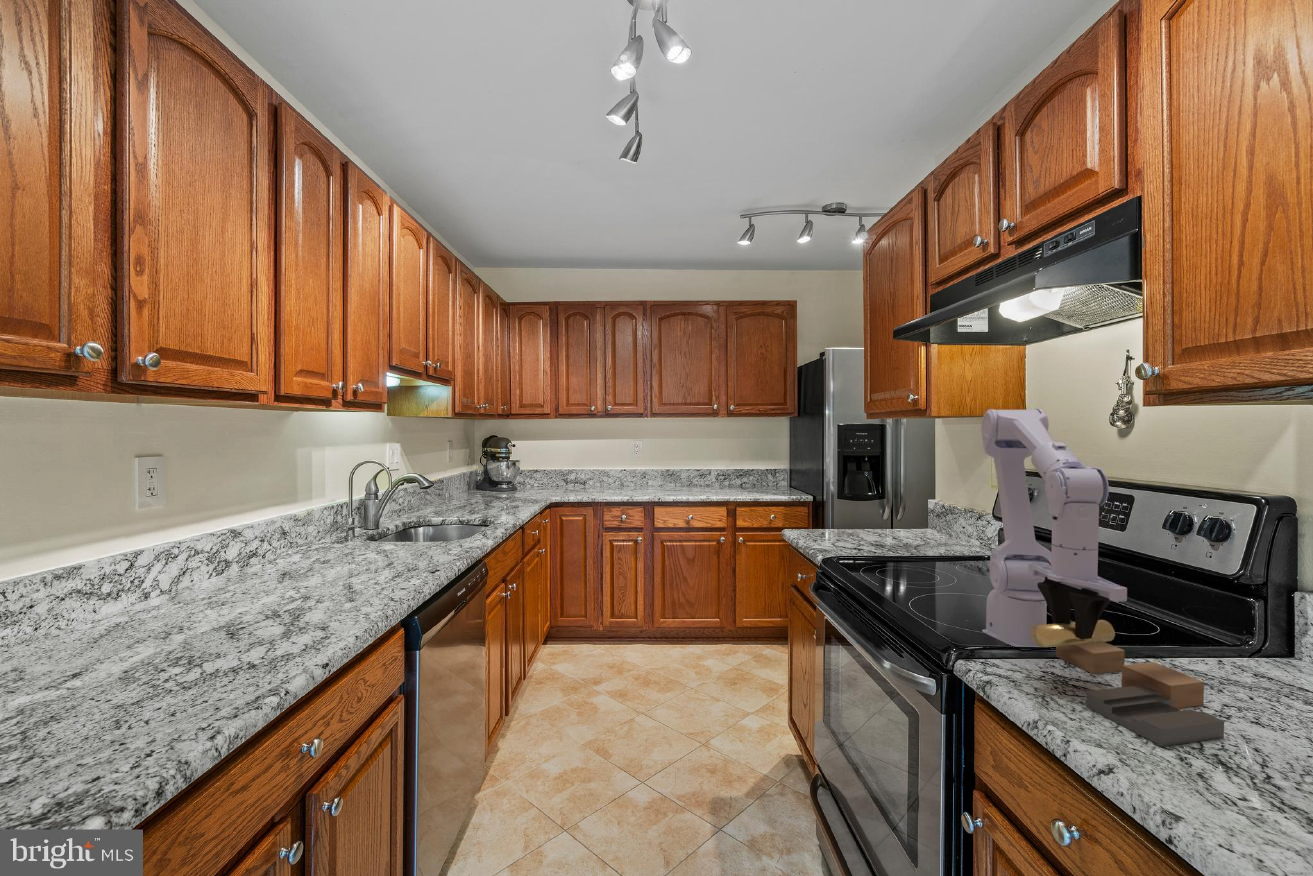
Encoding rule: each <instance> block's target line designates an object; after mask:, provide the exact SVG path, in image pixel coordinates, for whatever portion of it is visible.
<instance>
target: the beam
mask: <svg viewBox="0 0 1313 876" xmlns="http://www.w3.org/2000/svg"><path fill="white" fill-rule="evenodd" d="M1055 652H1056V653H1055V657H1057V658H1059V659H1061V660H1062V661H1065V662H1066V663H1069V664H1071V665H1073V666H1076V667H1078V668H1080V669H1081V670H1082V669H1083V670H1084V671H1087V672H1089V673H1091V674H1092V675H1099V674H1107V673H1116V672H1121V687H1130V686H1138V685H1144V686H1146V687H1148V688H1151V689H1153V690H1155V691H1157V692H1160V693H1161V696H1162V697H1165V698H1167V699H1169V700H1170V706H1172V707H1174V708H1176V709H1183V708H1191V707H1199V706H1204V697H1205V681H1202V680H1200V679H1198V678H1195V677H1193V676H1190V675H1188V674H1185V673H1183V672H1181V671H1178V670H1175V669H1174V668H1173V669H1172V668H1170V667H1168V666H1165V665H1163V664H1160V663H1158V662H1155V661H1149V662H1148V661H1147V662H1140V663H1139V662H1138V663H1130V664H1125V658H1126V657H1125V652H1126V651H1125V649H1123V648H1120V647H1117V646H1114V645H1113V644H1110V643H1108V642H1096V643H1085V644H1075V645H1064V646H1056V648H1055Z"/></svg>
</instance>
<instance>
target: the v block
mask: <svg viewBox="0 0 1313 876" xmlns="http://www.w3.org/2000/svg"><path fill="white" fill-rule="evenodd" d="M1085 695H1086V696H1085V697H1086V698H1085V707H1086V708H1087V709H1089V710H1092V711H1094V712H1095V713H1097V714H1099V715H1101V716H1103V717H1105V718H1107V719H1108V720H1110V721H1113V722H1114V723H1116V724H1118V725H1120V726H1122V727H1124V728H1126V729H1128V730H1129V731H1131V732H1133V733H1134V734H1137V735H1138V736H1141V737H1142V738H1144V739H1146V740H1148V741H1150V742H1152V743H1154V744H1156V745H1158V746H1160V747H1161V748H1163V747H1171V746H1177V745H1183V744H1190V743H1197V742H1205V741H1211V740H1219V739H1224V738H1225V737H1224V736H1225V720H1223V719H1220V718H1218V717H1215V716H1214V715H1211V714H1210V713H1207V712H1205V711H1202V710H1201V711H1196V710H1193V709H1186V710H1181V709H1180V708H1177V709H1176V708H1174V707H1172V706H1170V700H1169V699H1167V698H1165V697H1162V696H1161V693H1160V692H1157V691H1155V690H1153V689H1151V688H1148V687H1146V686H1144V685H1138V686H1130V687H1122V686H1121V687H1115V688H1113V687H1112V688H1106V689H1098V690H1096V689H1095V690H1090V691H1086V693H1085Z"/></svg>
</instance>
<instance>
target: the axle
mask: <svg viewBox="0 0 1313 876" xmlns="http://www.w3.org/2000/svg"><path fill="white" fill-rule="evenodd" d="M1115 636H1116V632H1115V629H1114V627H1113V625H1112V624H1111V623H1110V622H1109V621H1108V620H1105V619H1099V620H1098V622H1097V624H1096V627H1095V630H1094V632H1093V635H1092V638H1091V639H1079V638H1077V636H1076V632H1075V621H1073V622H1072V621H1070V622H1069V623H1058V624H1053V623H1048V624H1047V623H1046V625H1035V626H1033V627H1032V629H1031V637H1032V639H1033V641H1034V642H1035V644H1036V645H1038V646H1039V647H1054V646H1064V645H1075V644H1085V643H1096V642H1105V643H1108V642H1112V641H1113V640H1114V639H1115Z"/></svg>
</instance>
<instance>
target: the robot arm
mask: <svg viewBox="0 0 1313 876" xmlns="http://www.w3.org/2000/svg"><path fill="white" fill-rule="evenodd" d="M1049 425H1050V424H1049V418H1048V415H1047V413H1046V412H1045V411H1044V410H1043V409H1042V408H1035V409H994V408H993V409H992V408H990V409H989V408H988V409H987V410H986V411H985V412H984V414H983V417H982V421H981V426H980V427H981V430H980V432H981V436H982V437H981V438H982V445H983V449H984V453H985V455H987V456H990V457H991V458H993V463H994V468H995V475H996V482H997V488H998V491H997V492H998V497H999V504H1000V513H1001V518H1002V519H1001V521H1002V527H1003V528H1002V529H1003V535H1004V541H1003V542H1002V543H1001V544H999V545H998V546H996V547H995V548H994V549H992V551H991V552H990V554H989V557H990V559H989V560H990V561H989V562H990V564H989V577H990V581H991V585H992V586H993V588H994V589H991V591H990V592H989V594H988V595H987V597H986V607H985V608H986V609H985V610H986V612H985V613H986V614H985V619H986V620H985V621H986V622H985V629H982V631H981V632H982V633H984V634H985V635H988V636H989V637H992V638H994V639H996V640H998V641H1000V642H1002V643H1003V644H1006V645H1008V644H1009V645H1008V646H1010V645H1011V646H1010V647H1012V646H1038V645H1036V644H1035V642H1034V641H1033V639H1032V637H1031V629H1032V627H1033V626H1035V625H1046V624H1047V609H1048V611H1049V614H1050V616H1051V621H1052V624H1058V623H1069V622H1071V616H1072V608H1073V612H1074V622H1075V632H1076V636H1077V638H1079V639H1091V638H1092V635H1093V632H1094V630H1095V627H1096V624H1097V622H1098V620H1100V617H1101V616H1102V614H1103V613H1104V611H1105V610H1106V608H1107V607H1108V606H1109V605H1110V603H1111V602H1115V603H1116V602H1117V603H1118V602H1127V600H1128V588H1127V587H1125V586H1122V585H1120V584H1116V583H1114V582H1112V581H1110V580H1107V579H1105V578H1103V577H1101V576H1099V575H1098V571H1099V569H1098V565H1099V564H1098V563H1099V559H1098V558H1099V531H1100V530H1099V526H1100V525H1099V522H1100V521H1099V519H1100V518H1099V517H1100V507H1101V506H1104V504H1105V503H1106V502H1107V500H1108V497H1109V493H1110V492H1109V491H1110V490H1109V489H1110V487H1109V485H1110V484H1109V481H1108V478H1107V475H1106V474H1105V473H1104V471H1103V470H1102V468H1100V467H1092V466H1086V465H1085V464H1084V463H1083V462H1082V461H1081V460H1080V459H1079V458H1078V457H1077V456H1076V454H1075V453H1074V452H1073V451H1072V450H1071V449H1070V448H1069V446H1067V445H1066V444H1065V442H1062V441H1059V442H1058V441H1055V440H1054V439H1053V437H1052V436H1051V434H1050V432H1049ZM1030 457H1031V464H1032V466H1033V467H1034V468H1035V469H1036V471H1037V473H1038V474H1039V476H1041V478H1042V480H1043V481H1044V482H1045V484H1044V490H1045V495H1046V499H1047V503H1048V504H1047V506H1048V509H1047V510H1048V513H1049V515H1051V551H1050V550H1049V549H1047V548H1046V547H1045V546H1043V545H1042V544H1040V543H1039V542H1037V540H1036V535H1035V527H1034V522H1033V516H1032V507H1031V502H1030V500H1031V499H1030V496H1029V495H1030V494H1029V487H1028V482H1027V476H1026V475H1027V474H1026V469H1025V460H1026V459H1028V458H1030ZM1077 589H1078V590H1081V591H1077ZM1047 607H1048V608H1047ZM1054 647H1056V646H1054Z"/></svg>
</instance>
